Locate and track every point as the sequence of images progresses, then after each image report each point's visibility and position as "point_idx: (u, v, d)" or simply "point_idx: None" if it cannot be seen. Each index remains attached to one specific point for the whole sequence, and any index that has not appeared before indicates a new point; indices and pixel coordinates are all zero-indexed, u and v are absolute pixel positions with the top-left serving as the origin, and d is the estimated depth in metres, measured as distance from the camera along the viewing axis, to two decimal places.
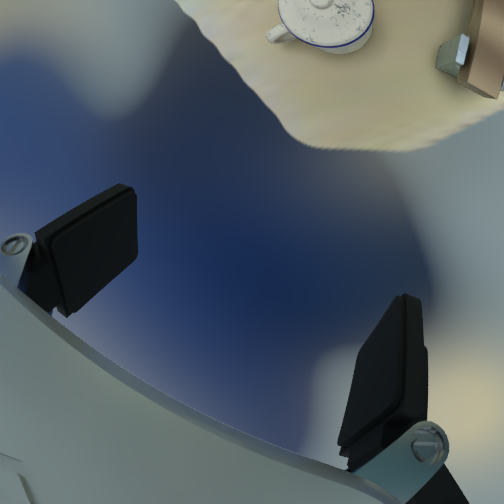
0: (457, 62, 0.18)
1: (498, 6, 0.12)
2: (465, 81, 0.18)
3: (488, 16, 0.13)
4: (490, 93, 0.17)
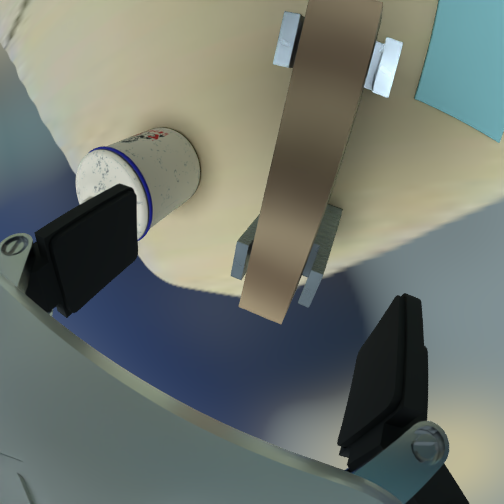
0: (234, 276, 0.22)
1: (291, 198, 0.16)
2: None
3: (269, 220, 0.17)
4: (270, 318, 0.21)
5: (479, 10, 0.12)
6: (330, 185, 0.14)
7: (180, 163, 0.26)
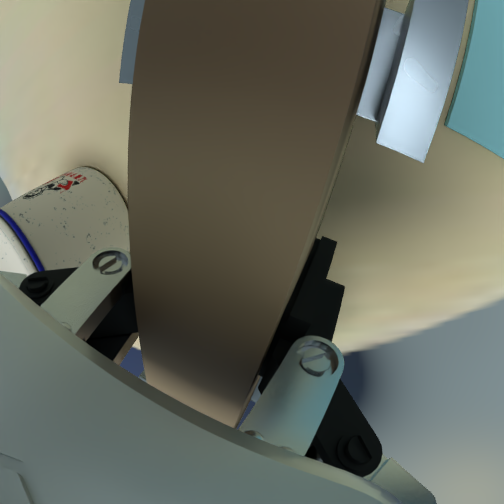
0: None
1: (184, 370, 0.08)
2: None
3: (161, 384, 0.09)
4: None
5: None
6: (253, 372, 0.06)
7: (96, 222, 0.18)
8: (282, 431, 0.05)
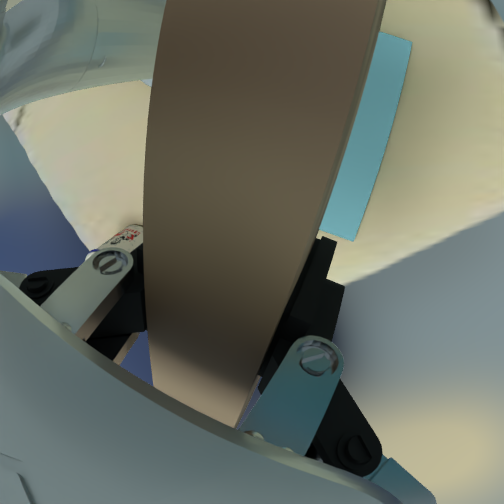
0: None
1: (191, 362, 0.08)
2: None
3: (167, 377, 0.09)
4: None
5: None
6: (259, 360, 0.07)
7: None
8: (282, 431, 0.05)
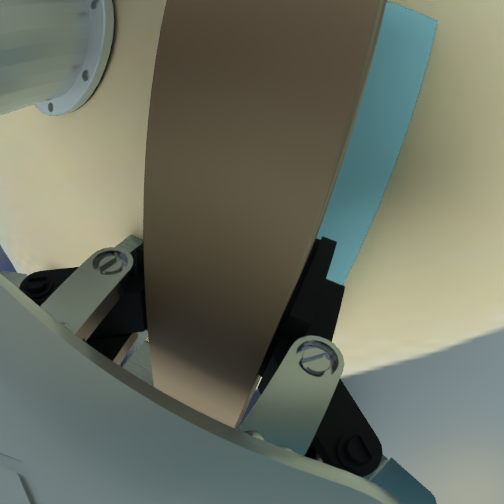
0: None
1: (191, 362, 0.08)
2: None
3: (167, 377, 0.09)
4: None
5: None
6: (259, 360, 0.07)
7: None
8: (282, 431, 0.05)
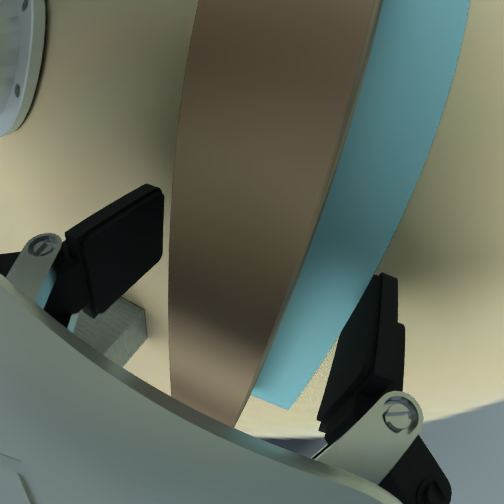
0: None
1: (208, 329, 0.09)
2: None
3: (183, 348, 0.10)
4: None
5: None
6: (272, 322, 0.08)
7: None
8: None
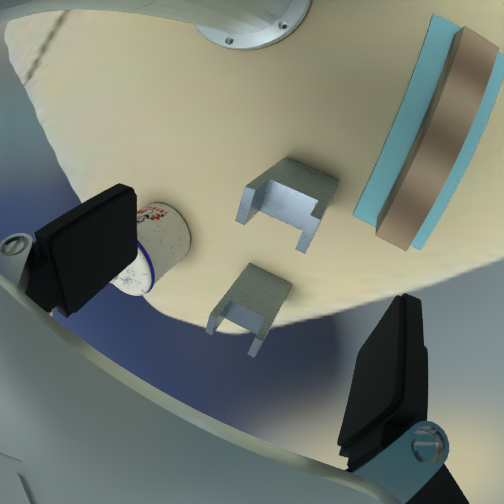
0: (207, 332, 0.32)
1: (437, 150, 0.19)
2: (376, 230, 0.26)
3: (420, 164, 0.21)
4: (399, 246, 0.25)
5: None
6: (461, 146, 0.18)
7: (175, 239, 0.36)
8: None
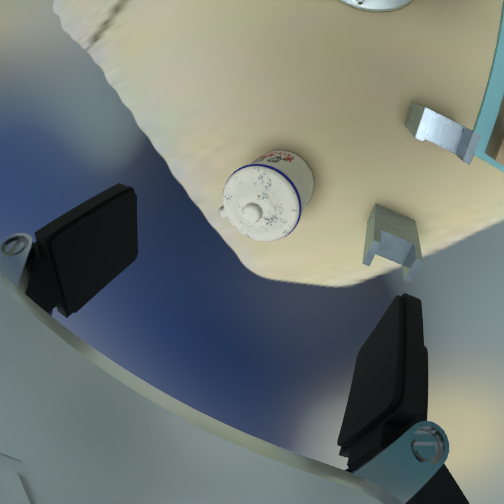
0: (364, 263, 0.31)
1: None
2: (493, 158, 0.24)
3: None
4: None
5: None
6: None
7: (307, 181, 0.36)
8: None
